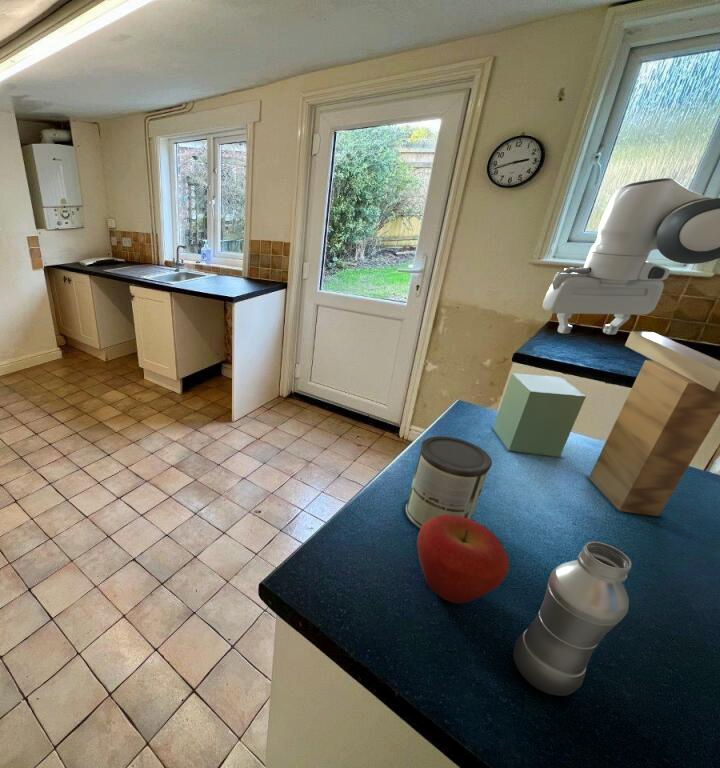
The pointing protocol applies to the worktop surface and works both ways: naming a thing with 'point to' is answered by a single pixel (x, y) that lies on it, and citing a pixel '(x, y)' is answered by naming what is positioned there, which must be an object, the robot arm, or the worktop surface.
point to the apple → (460, 558)
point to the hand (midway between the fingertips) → (585, 333)
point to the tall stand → (654, 439)
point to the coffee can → (447, 479)
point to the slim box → (677, 358)
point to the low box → (537, 414)
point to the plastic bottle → (573, 619)
